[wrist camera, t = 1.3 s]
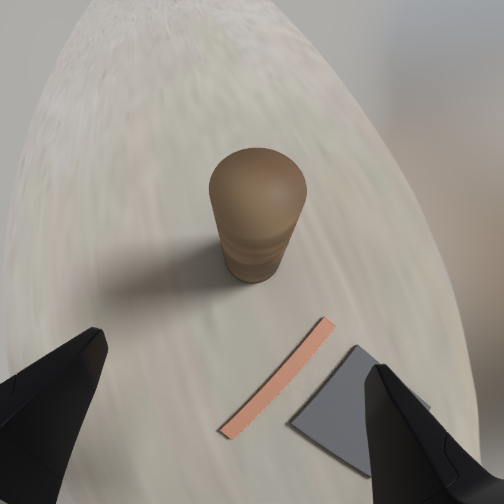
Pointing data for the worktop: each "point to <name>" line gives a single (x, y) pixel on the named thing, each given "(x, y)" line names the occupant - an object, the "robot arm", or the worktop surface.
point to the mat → (342, 411)
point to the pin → (256, 209)
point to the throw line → (279, 379)
